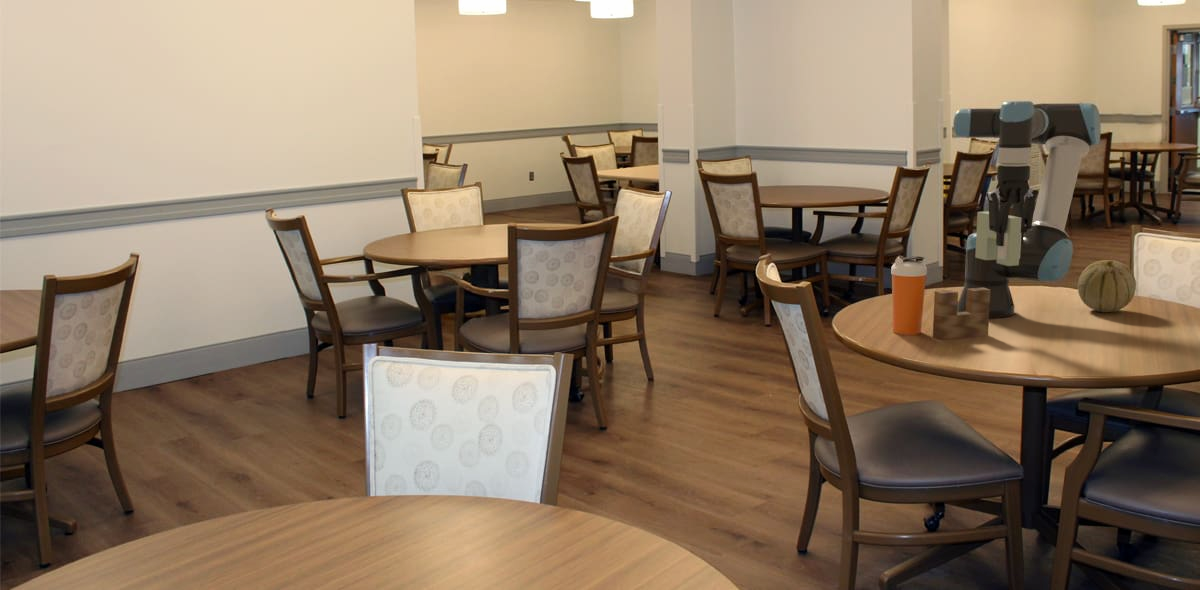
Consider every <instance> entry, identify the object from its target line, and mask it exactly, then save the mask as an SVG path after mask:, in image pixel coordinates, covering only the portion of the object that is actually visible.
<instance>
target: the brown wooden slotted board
mask: <svg viewBox="0 0 1200 590" xmlns="http://www.w3.org/2000/svg"><path fill="white" fill-rule="evenodd" d="M933 299H934V301H933V321H932V323H933V324H932V326H933V327H932V337H933V338H934V339H936V340H939V341H940V340H951V339H960V338H961V339H963V338H974V337H985V336H989V325H990V324H989V321H990V318H989V307H990V289H987V288H971V289H967V296H966V312H958V311H957V308H958V301H959V292H958V291H956V290H953V289H947V290H935V291H934V298H933Z"/></svg>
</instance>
